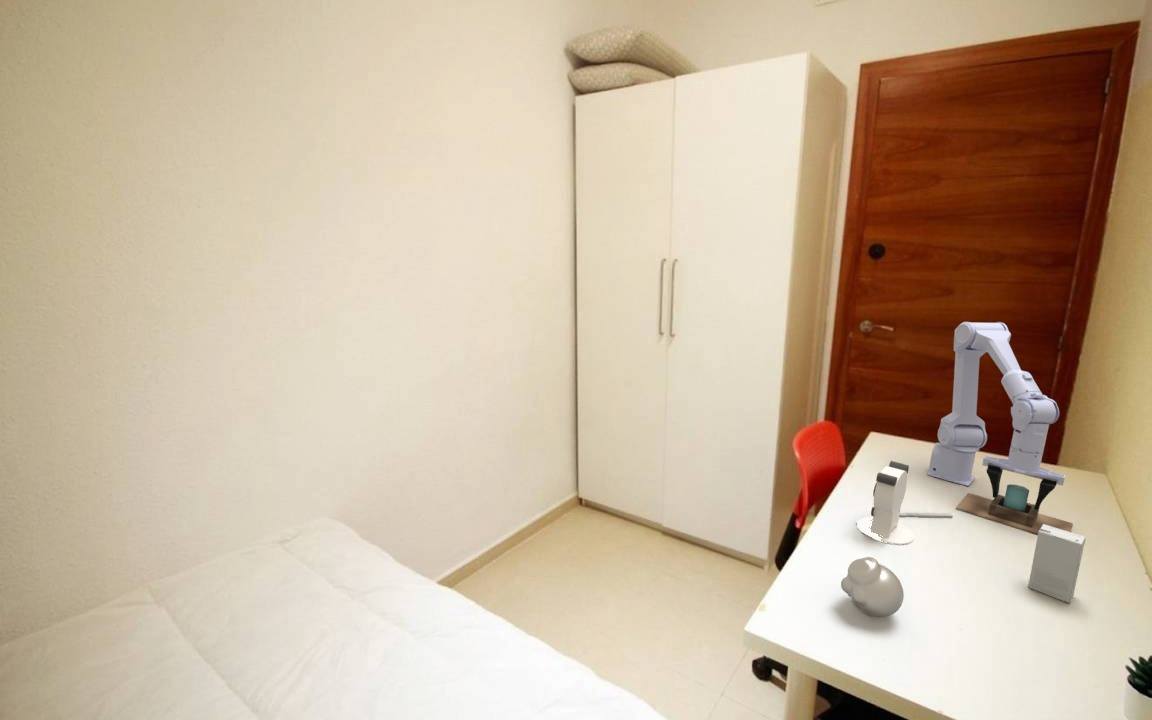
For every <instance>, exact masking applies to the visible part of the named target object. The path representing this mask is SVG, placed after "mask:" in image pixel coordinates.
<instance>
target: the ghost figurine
mask: <svg viewBox="0 0 1152 720" xmlns="http://www.w3.org/2000/svg"><path fill="white" fill-rule="evenodd" d="M840 587H841V590H842V591H844V593H845V594H847V596H848V597H850V598H851V603H852V604H853V605H854V606H855V607H856V608H857V609H858V611H860V612H862V613H863V614H866V615H868V616H869V617H870V616H871V617H874V618H886V617H887V618H888V617H891V616H892V615H894V614H896V613H897V612H898V611H899V610H900V608H901V607H902V606H903V603H904V598H905V597H904V596H905V595H904V588H903V585H902V582H901V581H900V579H899V578H898V576H897V575H896V574H895V573H894V572H893V571H892V570H891V569H890V568H888V567H886V566H884V565H882V564H881V563H879V561H878V560H877V559H876V558H874V557H871V556H866V557H862V558H858V559H857V558H856V559H855V560H853V561H851V563H850V564H849V566H848V568H847V574H846V577H844V578H842V579H841V582H840Z"/></svg>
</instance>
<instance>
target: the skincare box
mask: <svg viewBox="0 0 1152 720" xmlns="http://www.w3.org/2000/svg"><path fill="white" fill-rule="evenodd" d="M1036 538H1037V539H1036V543H1035V548H1034V552H1033V553H1034V554H1033V559H1032V564H1031V570H1030V576H1029V580H1028V584H1027V587H1028V588H1029V589H1031V590H1034V591H1036V592H1040V593H1042V594H1045V595H1047V596H1050V597H1053V598H1056V599H1058V600H1060V601H1063V602H1066V603H1068V604H1071V602H1072V600H1073V597H1074V595H1075V590H1076V585H1077V582H1078V581H1077V580H1078V577H1079V571H1080V566H1081V561H1082V558H1083V557H1082V556H1083V553H1084V546H1085V544H1086V536H1083V535H1080V534H1078V533H1077V534H1076V533H1073V532H1072V531H1070V532H1068V531H1064V530H1061V529H1058V528H1055V527H1051V526H1048V525H1045V524H1043V525H1042V527H1041V528H1040V530H1039V531H1038V535H1037V537H1036Z"/></svg>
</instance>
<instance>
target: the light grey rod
mask: <svg viewBox="0 0 1152 720" xmlns="http://www.w3.org/2000/svg"><path fill="white" fill-rule="evenodd" d="M906 517H918V518H917V519H921V518H922V519H924V518H925V519H927V518H928V519H953V514H951V513H950V512H900V514H899V518H906Z"/></svg>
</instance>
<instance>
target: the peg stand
mask: <svg viewBox="0 0 1152 720" xmlns="http://www.w3.org/2000/svg"><path fill="white" fill-rule="evenodd" d="M1004 499H1005V495H1001V494H999V493H998V496H997V497H996V498H994V497H993V499H991V498H987V497H984V496H980V495H978V494H974V493H970V492H967V493H966V494H965V496H963V498H962V499H961V500H960V502H959V503H958V504H957V505H956V507H955V510H957V511H960V512H962V513H963V512H964V513H966V514H970V515H973V516H976V517H980V518H982V519H986V520H989V521H992V522H995V523H999V524H1002V525H1005V526H1008V527H1010V528H1014V529H1017V530H1021V531H1024V532H1028V533H1030V534H1033V535H1036V536H1038V531H1039V530H1040V528H1041V527H1042V525H1043V524H1045V525H1048V526H1051V527H1055V528H1058V529H1061V530H1064V531H1068V532H1072V531H1071V530H1072V528H1073V522H1070V521H1066V520H1063V519H1060V518H1056V517H1053V516H1049V515H1047V514H1042V513H1040V512H1039V511H1040V508H1039V509H1038V510H1036V509H1034V507H1035V504H1034V503H1029V502H1027V504H1026V509H1025V513H1024V512H1021V511H1017V510H1014V509H1010V508H1007V507H1004V506H1003V504H1004Z"/></svg>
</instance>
